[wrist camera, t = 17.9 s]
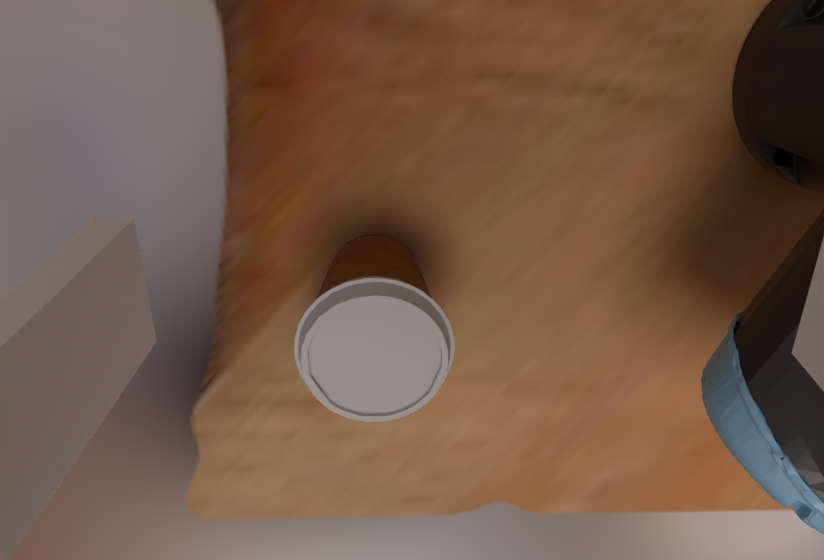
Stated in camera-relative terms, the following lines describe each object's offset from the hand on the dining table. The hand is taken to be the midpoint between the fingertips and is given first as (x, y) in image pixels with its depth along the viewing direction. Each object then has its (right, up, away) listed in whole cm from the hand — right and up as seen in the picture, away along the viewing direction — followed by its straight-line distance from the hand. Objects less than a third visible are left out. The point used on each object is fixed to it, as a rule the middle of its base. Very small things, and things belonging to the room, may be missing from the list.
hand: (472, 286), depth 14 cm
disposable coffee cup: (-4, +1, +39) cm, 39 cm away
